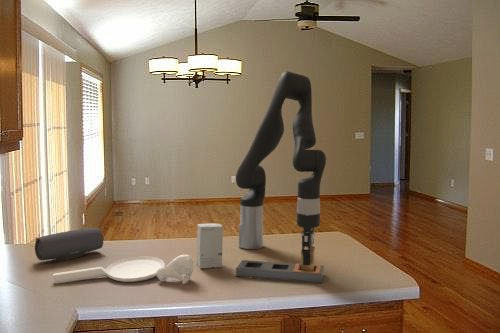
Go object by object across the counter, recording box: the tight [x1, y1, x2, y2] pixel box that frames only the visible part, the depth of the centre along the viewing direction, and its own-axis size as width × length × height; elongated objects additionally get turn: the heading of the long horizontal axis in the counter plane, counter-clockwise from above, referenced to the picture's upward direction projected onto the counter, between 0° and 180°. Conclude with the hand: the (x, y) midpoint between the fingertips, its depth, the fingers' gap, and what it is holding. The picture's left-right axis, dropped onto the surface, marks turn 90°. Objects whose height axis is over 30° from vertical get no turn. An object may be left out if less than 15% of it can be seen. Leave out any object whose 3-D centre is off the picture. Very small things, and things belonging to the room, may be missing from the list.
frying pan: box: [52, 255, 166, 285], centre depth 155 cm, size 35×19×5 cm, turn 110°
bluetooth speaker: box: [34, 227, 104, 261], centre depth 176 cm, size 23×9×10 cm, turn 135°
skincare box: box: [196, 222, 224, 270], centre depth 166 cm, size 8×6×15 cm
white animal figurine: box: [156, 254, 194, 285], centre depth 151 cm, size 6×8×12 cm
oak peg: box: [300, 246, 316, 271], centre depth 154 cm, size 4×4×10 cm
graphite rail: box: [235, 259, 325, 284], centre depth 157 cm, size 28×9×3 cm, turn 77°
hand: (307, 261), depth 154 cm, fingers open, 6 cm apart
